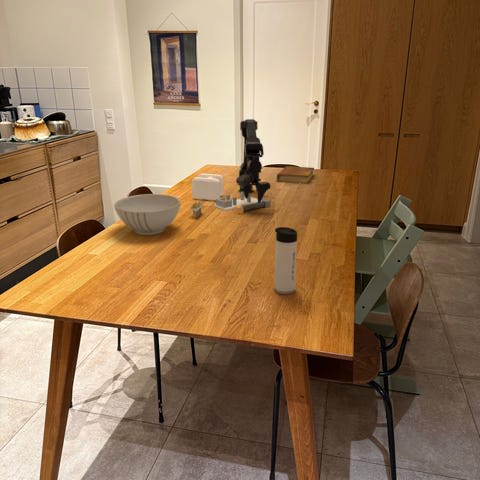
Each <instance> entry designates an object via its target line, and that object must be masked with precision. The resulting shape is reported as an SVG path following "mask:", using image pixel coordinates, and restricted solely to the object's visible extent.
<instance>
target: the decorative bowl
mask: <svg viewBox="0 0 480 480" xmlns="http://www.w3.org/2000/svg"><path fill="white" fill-rule="evenodd" d="M181 203H182V202H181V199H180V198H178V197H176V196H173V195H170V194H161V193H160V194H159V193H148V194H147V193H146V194H145V193H144V194H137V195H131V196H126V197H123V198H120V199H117V201H115V202H114V204H113V208H114V210H115V212H116V215H117V216H118V217H119V220H121V222H122V223H123V224H124V225H125V226H126V227H128V228H129V229H131V230H132V231H134V232H135V233H136V234H138V235H141V236H152V235H154V236H155V235H158V234H161V233H163V232H164V231H165V229H166V228H167V227H168V226H170V225H171V224H172V223H173V221H174V220H175V219H176V217H177V215H178V213H179V211H180V208H181Z"/></svg>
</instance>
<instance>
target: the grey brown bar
mask: <svg viewBox="0 0 480 480" xmlns="http://www.w3.org/2000/svg"><path fill="white" fill-rule="evenodd" d="M269 207H271V200H270V199H262V202H260V203H255V204H250V205H246V206H240V205H239V206H235V207H234V209H233V211H234V213H235V214H237V215H239V214H241V215H242V214H244V212H246V211H247V212H248V211H252V210H255V209H258V208H269Z"/></svg>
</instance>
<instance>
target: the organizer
mask: <svg viewBox="0 0 480 480" xmlns="http://www.w3.org/2000/svg"><path fill="white" fill-rule="evenodd" d="M190 183H191V184H190V185H191V197H192V198H193V199H196V200H200V201H201V200H206V201H207V200H208V201H212V202H215V201H216V199H218V198H221V196H222V195H224V194H225V193H224V189H225V187H224V177H223V175H221V174H216V173H215V174H211V173H210V174H209V173H199V174H197V176H195V177H193V178H191V182H190Z"/></svg>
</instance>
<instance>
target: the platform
mask: <svg viewBox="0 0 480 480" xmlns="http://www.w3.org/2000/svg"><path fill="white" fill-rule="evenodd" d="M191 205H192V206H191V207H190V208H189V210H191V211H192V214H193V216H192V217H193V218H195V219H198V218H199V216H200V215H201V214H202V207H203V206H204V203H201V202H200V201H198V203H197V201H195V202H193V204H191Z"/></svg>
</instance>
